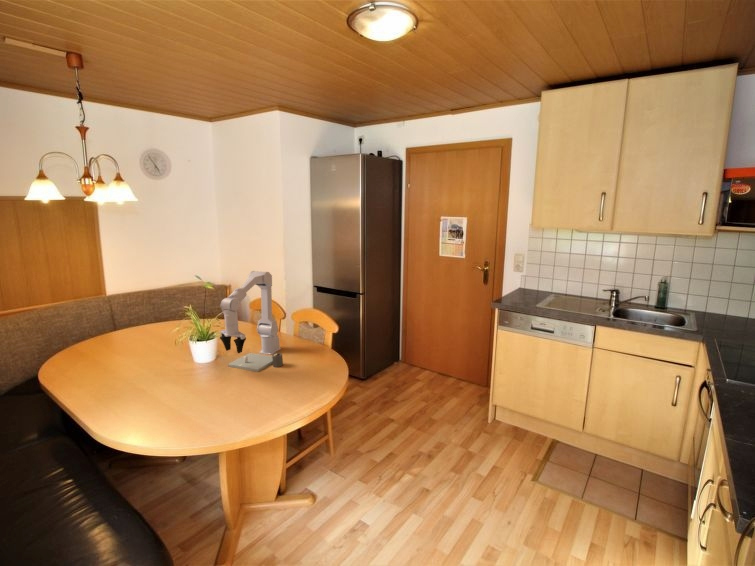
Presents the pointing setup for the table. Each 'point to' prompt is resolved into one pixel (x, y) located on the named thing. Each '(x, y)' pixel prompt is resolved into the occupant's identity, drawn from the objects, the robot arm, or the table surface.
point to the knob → (277, 359)
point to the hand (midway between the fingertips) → (234, 351)
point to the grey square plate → (252, 362)
